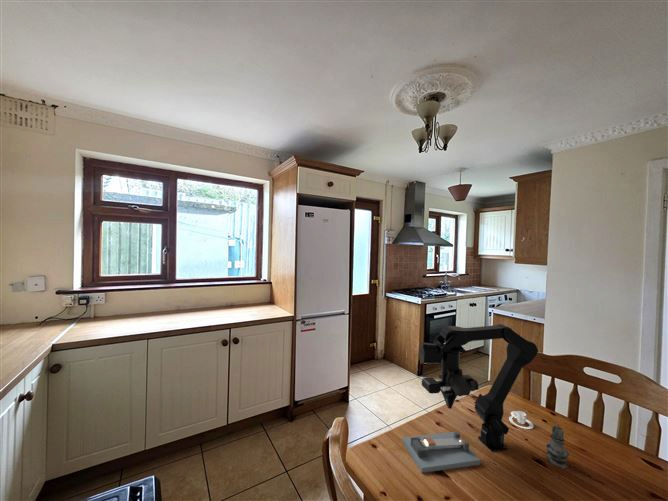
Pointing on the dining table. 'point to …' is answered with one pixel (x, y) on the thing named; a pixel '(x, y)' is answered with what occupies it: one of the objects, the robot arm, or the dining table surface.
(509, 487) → the dining table surface
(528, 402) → the dining table surface
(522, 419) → the teacup and saucer
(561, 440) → the grey tiered tower figurine
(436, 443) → the light grey long bar
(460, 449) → the base plate
